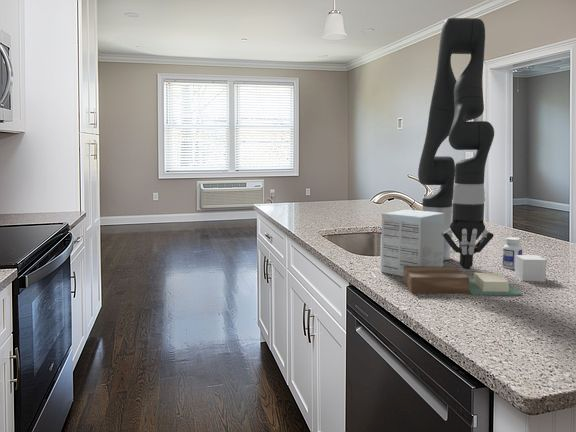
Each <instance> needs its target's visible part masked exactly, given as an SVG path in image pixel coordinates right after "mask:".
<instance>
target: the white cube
mask: <svg viewBox="0 0 576 432" xmlns="http://www.w3.org/2000/svg"><path fill="white" fill-rule="evenodd" d="M547 261H548V260H547V259H546V258H543V257H542V256H540V255H537V254H536V255H535V254H522V255H516V257H515V269H514V276H515V277H516V278H518V279H519V280H520V281H521V282H546V277H547V263H548V262H547Z"/></svg>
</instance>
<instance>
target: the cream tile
mask: <svg viewBox="0 0 576 432" xmlns="http://www.w3.org/2000/svg"><path fill="white" fill-rule="evenodd" d="M473 279H474V283H475V284H476V285H477V286H478V287H479V288H481V289H482V290H483V291H495V292H509V285H510V281H509V280H508V279H506V278H504V277H503V276H502V275H501V274H499V273H498V272H473Z"/></svg>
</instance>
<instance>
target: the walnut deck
mask: <svg viewBox="0 0 576 432" xmlns="http://www.w3.org/2000/svg"><path fill="white" fill-rule="evenodd" d="M402 279H403V282H404V284H405V285H406V287H407V289H408V291H409V292H410V293H411V294H455V295H456V294H458V295H459V294H463V295H465V294H466V295H467V294H468V295H469V294H470V293H469V279H470V277H469V276H468V275H467V274H465V272H463V271H462V270H461V269H460V268H459V267H457V266H443V267H436V266H404V276H403V278H402Z"/></svg>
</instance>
